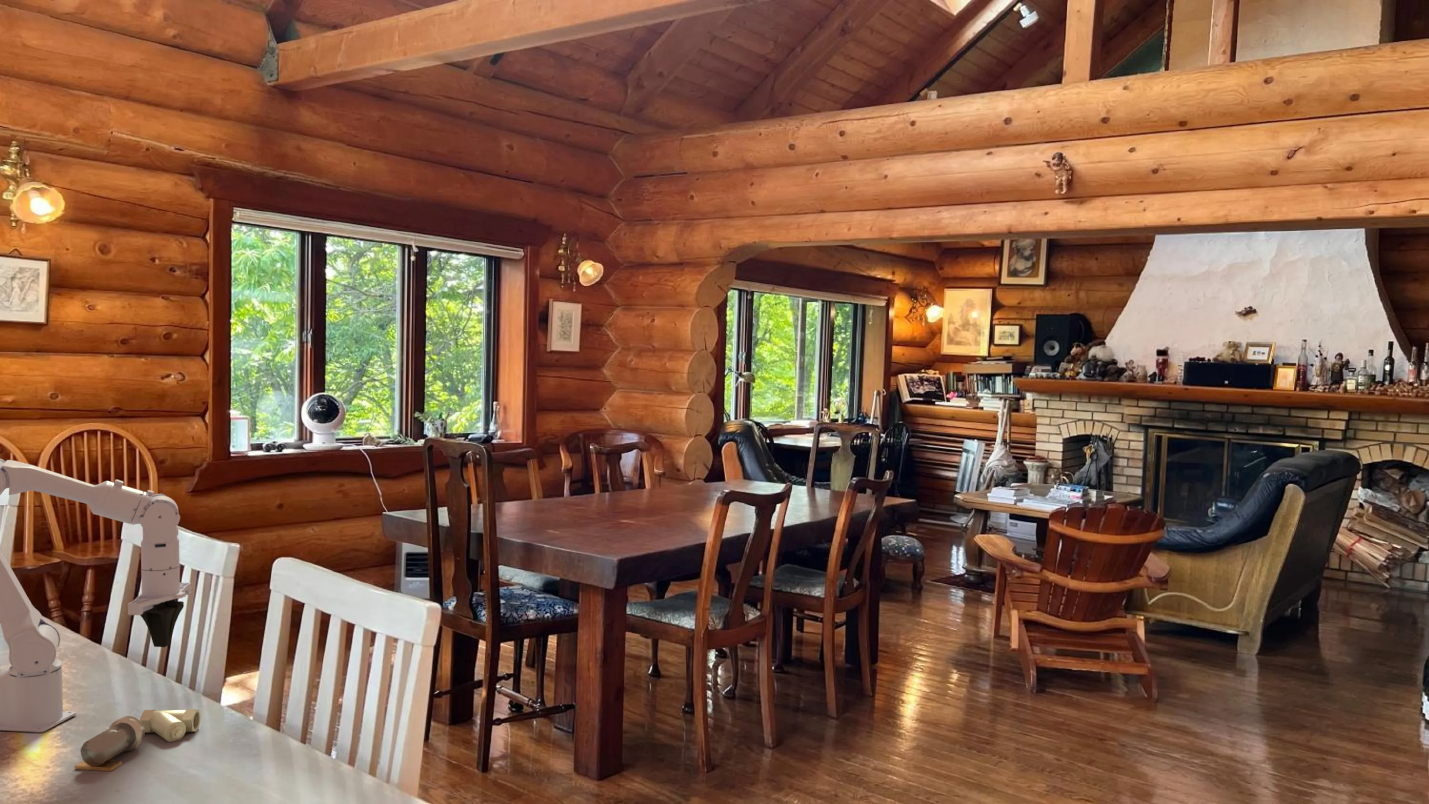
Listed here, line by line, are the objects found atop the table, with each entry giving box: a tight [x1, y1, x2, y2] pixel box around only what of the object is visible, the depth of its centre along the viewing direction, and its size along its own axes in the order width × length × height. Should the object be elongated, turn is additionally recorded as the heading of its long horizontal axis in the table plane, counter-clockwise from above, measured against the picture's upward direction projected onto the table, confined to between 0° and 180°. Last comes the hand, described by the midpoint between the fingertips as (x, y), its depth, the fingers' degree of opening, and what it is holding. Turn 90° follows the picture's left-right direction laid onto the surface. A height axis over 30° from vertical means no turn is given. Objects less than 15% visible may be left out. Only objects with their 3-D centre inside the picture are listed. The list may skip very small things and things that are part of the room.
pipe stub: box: [74, 715, 146, 772], centre depth 153 cm, size 8×6×5 cm
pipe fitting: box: [139, 708, 202, 743], centre depth 162 cm, size 8×4×7 cm
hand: (161, 645), depth 175 cm, fingers closed
